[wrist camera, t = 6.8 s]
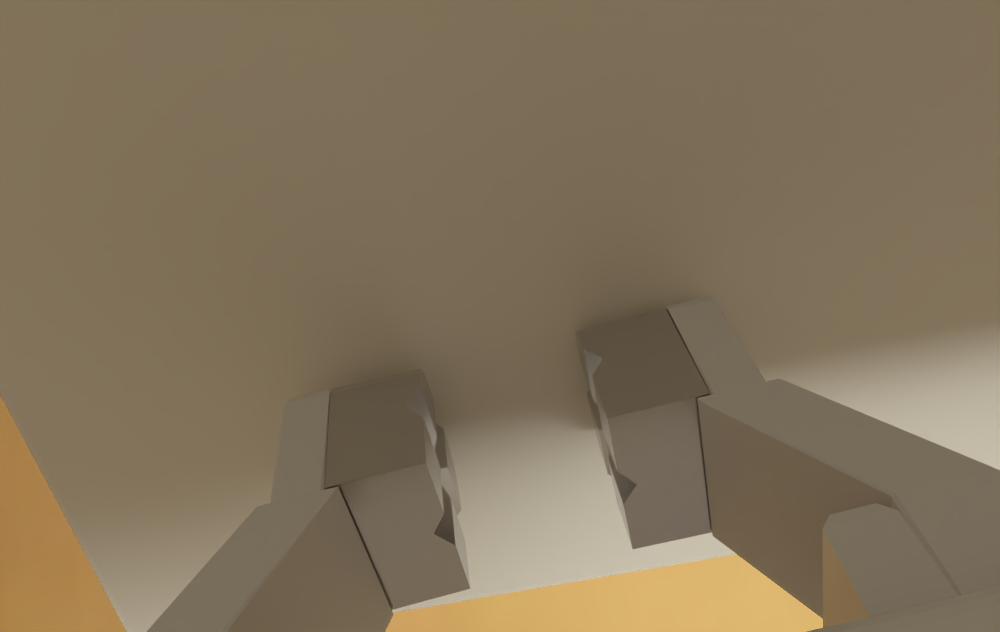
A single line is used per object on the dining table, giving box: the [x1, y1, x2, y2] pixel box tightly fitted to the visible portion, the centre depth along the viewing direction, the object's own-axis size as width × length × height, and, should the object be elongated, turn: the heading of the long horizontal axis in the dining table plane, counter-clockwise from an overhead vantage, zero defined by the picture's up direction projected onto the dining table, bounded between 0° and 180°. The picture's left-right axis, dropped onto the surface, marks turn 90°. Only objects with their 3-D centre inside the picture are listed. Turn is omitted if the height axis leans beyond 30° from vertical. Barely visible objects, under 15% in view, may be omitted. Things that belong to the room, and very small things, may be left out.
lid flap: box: [0, 0, 1000, 632], centre depth 9 cm, size 14×12×1 cm
